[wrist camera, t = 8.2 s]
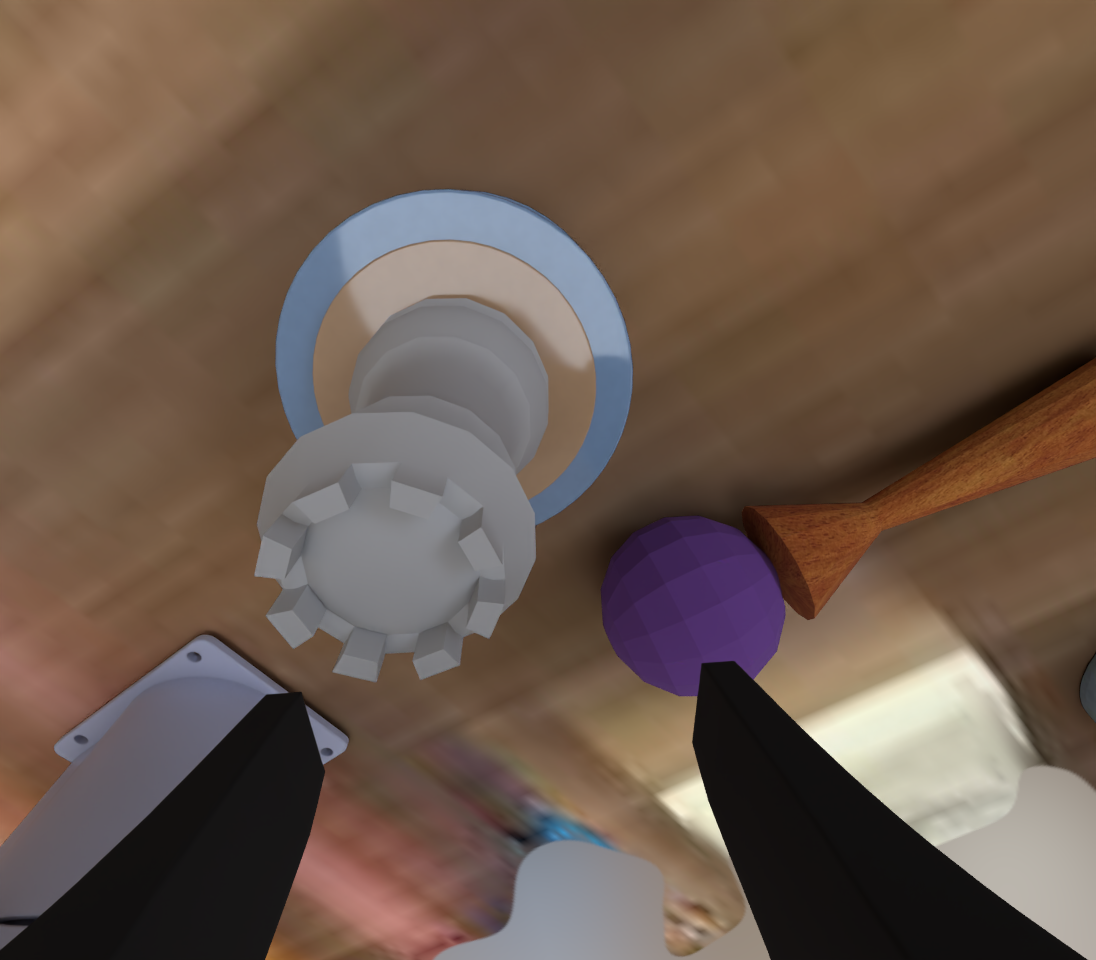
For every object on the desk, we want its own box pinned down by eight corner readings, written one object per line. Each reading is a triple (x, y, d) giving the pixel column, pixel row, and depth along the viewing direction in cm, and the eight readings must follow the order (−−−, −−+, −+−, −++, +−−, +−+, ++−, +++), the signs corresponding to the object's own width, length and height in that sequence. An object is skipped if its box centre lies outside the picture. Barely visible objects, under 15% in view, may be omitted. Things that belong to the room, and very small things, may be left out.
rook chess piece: (397, 492, 14) (267, 775, 6) (332, 318, 12) (47, 437, 5) (564, 456, 14) (627, 701, 6) (526, 274, 12) (551, 323, 4)
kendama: (1247, 494, 16) (667, 759, 17) (1054, 414, 21) (611, 624, 22) (1332, 323, 13) (609, 663, 14) (1081, 275, 18) (558, 530, 19)
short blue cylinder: (454, 532, 20) (438, 613, 15) (256, 324, 16) (162, 354, 12) (666, 383, 18) (717, 428, 14) (494, 114, 14) (487, 58, 10)
